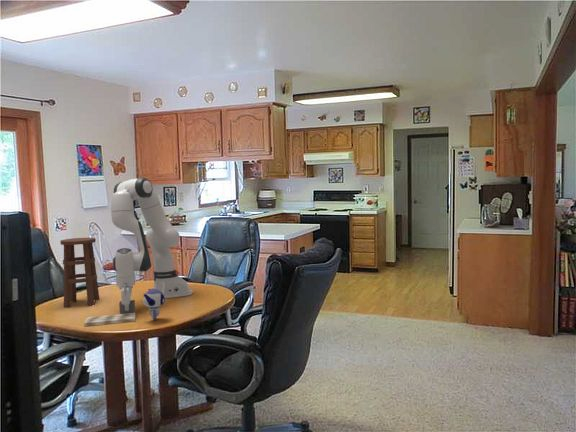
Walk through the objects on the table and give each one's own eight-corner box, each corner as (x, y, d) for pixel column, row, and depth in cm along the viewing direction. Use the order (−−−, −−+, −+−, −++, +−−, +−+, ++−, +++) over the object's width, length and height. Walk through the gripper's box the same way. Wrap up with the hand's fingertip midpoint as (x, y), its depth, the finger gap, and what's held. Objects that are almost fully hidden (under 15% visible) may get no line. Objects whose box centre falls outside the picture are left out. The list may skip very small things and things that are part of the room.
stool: (84, 236, 272) (105, 238, 260) (88, 297, 274) (108, 301, 263) (50, 240, 256) (71, 242, 244) (55, 305, 258) (75, 310, 247)
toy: (163, 323, 219) (162, 290, 218) (141, 324, 218) (139, 291, 217) (167, 316, 229) (166, 285, 228) (146, 317, 229) (145, 286, 227)
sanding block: (135, 311, 240) (134, 300, 240) (134, 313, 237) (134, 301, 236) (120, 313, 238) (119, 301, 238) (119, 315, 235) (119, 303, 234)
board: (135, 315, 233) (135, 312, 233) (134, 321, 223) (134, 318, 223) (87, 320, 227) (86, 317, 227) (84, 326, 217) (83, 323, 217)
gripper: (131, 285, 227) (133, 313, 228) (133, 277, 247) (134, 303, 248) (117, 286, 225) (119, 315, 226) (120, 278, 245) (121, 304, 246)
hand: (127, 309), depth 237 cm, fingers closed on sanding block, 3 cm apart
